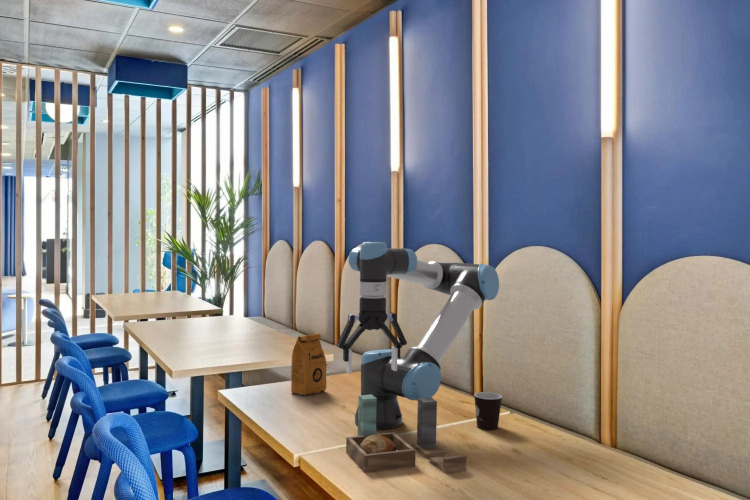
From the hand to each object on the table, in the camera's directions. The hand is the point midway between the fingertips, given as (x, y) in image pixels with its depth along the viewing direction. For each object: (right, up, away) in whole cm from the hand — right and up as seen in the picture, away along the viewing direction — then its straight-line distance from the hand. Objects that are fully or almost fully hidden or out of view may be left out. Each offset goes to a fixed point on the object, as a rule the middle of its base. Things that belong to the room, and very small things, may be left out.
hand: (371, 371), depth 173 cm
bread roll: (+2, -21, -10) cm, 24 cm away
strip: (+20, -22, -14) cm, 33 cm away
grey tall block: (+16, -21, -4) cm, 27 cm away
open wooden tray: (+1, -21, -8) cm, 23 cm away
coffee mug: (+37, -22, +21) cm, 47 cm away
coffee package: (-24, -19, +57) cm, 65 cm away
